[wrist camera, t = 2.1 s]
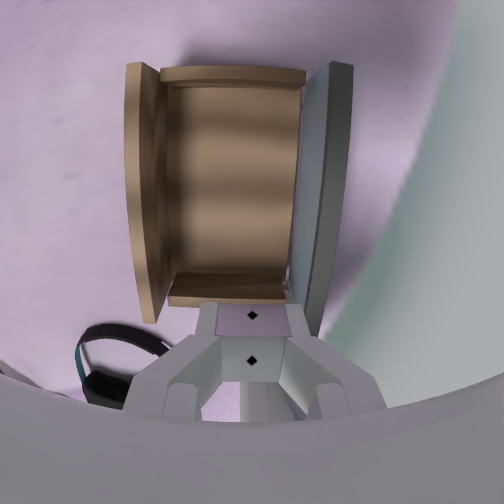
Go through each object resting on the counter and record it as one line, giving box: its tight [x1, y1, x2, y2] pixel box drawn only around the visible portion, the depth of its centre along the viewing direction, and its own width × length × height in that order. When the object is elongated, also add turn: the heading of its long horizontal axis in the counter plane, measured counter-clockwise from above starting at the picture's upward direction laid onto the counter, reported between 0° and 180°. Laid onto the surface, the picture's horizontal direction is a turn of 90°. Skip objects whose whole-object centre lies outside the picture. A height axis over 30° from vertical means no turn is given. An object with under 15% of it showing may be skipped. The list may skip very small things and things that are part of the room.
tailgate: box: [288, 61, 353, 338], centre depth 24 cm, size 22×2×9 cm, turn 177°
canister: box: [240, 289, 306, 422], centre depth 25 cm, size 10×10×30 cm
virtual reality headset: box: [75, 324, 169, 410], centre depth 39 cm, size 19×22×10 cm
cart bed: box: [124, 62, 306, 324], centre depth 26 cm, size 22×14×11 cm, turn 177°
